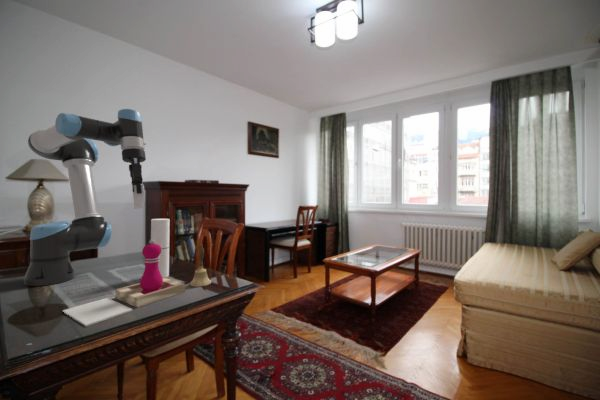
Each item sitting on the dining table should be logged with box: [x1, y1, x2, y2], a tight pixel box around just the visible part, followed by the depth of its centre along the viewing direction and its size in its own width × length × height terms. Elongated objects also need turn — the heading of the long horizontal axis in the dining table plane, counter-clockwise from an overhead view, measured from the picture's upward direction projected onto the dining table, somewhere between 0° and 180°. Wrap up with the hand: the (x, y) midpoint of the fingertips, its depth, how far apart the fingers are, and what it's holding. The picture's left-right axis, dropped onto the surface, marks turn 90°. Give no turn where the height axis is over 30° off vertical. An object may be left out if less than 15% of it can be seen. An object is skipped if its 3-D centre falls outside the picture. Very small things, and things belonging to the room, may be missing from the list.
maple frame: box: [115, 277, 186, 308], centre depth 96 cm, size 14×17×3 cm
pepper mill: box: [139, 238, 163, 294], centre depth 96 cm, size 7×7×20 cm
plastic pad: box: [62, 297, 133, 327], centre depth 82 cm, size 16×12×1 cm
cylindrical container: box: [150, 218, 171, 278], centre depth 117 cm, size 7×7×25 cm
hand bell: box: [189, 243, 212, 288], centre depth 109 cm, size 8×8×16 cm
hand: (139, 206), depth 99 cm, fingers open, 13 cm apart
